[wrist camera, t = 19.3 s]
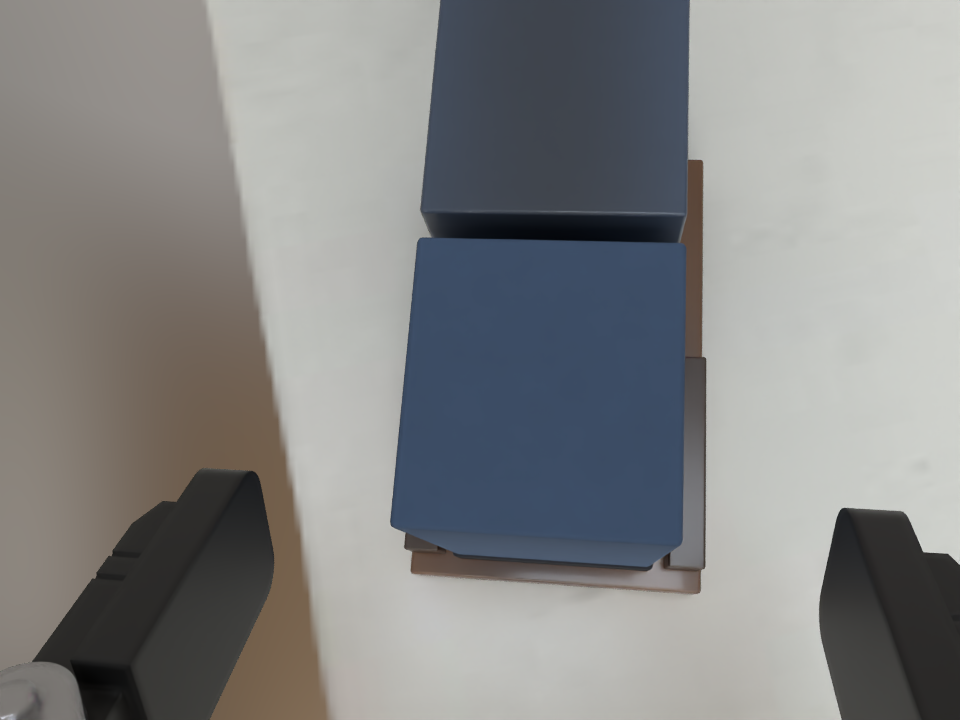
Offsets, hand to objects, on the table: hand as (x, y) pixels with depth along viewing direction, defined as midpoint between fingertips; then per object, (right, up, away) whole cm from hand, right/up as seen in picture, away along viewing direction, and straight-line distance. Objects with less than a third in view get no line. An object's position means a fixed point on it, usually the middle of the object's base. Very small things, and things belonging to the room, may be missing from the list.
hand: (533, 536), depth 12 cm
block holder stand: (+1, +2, +11) cm, 11 cm away
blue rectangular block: (+1, 0, +9) cm, 9 cm away
